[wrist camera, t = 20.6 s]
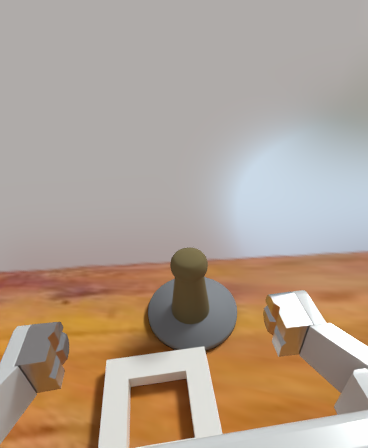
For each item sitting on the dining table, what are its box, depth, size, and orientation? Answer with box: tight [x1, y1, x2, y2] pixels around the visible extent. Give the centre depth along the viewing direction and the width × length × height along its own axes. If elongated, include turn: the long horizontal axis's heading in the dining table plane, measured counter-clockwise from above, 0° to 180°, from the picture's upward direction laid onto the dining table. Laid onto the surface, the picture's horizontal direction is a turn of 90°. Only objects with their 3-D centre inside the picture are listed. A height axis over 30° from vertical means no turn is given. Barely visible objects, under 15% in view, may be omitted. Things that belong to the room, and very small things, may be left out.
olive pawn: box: [170, 248, 209, 324], centre depth 42 cm, size 6×6×11 cm
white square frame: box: [98, 346, 222, 448], centre depth 33 cm, size 13×13×2 cm
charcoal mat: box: [148, 277, 237, 351], centre depth 45 cm, size 14×14×1 cm
